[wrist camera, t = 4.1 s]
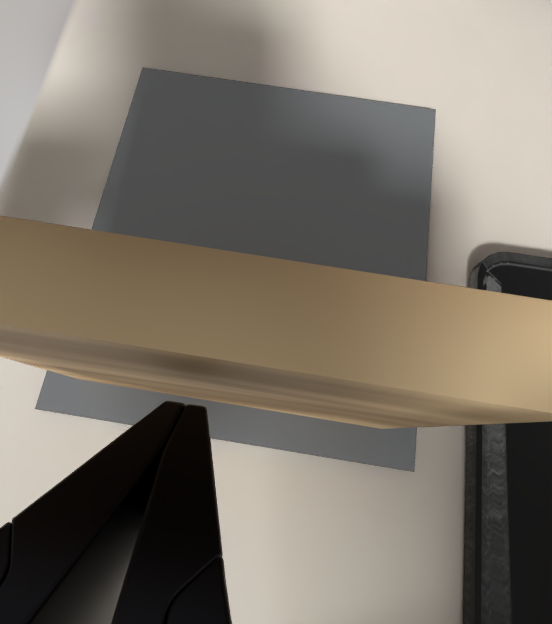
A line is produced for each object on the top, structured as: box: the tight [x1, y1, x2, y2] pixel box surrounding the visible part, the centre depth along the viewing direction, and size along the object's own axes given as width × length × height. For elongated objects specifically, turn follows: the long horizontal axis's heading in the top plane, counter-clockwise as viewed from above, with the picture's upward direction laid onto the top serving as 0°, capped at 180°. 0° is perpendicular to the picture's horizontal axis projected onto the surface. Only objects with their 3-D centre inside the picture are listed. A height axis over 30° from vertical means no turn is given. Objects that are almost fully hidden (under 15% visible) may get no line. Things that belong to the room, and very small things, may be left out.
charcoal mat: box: [35, 68, 436, 472], centre depth 17 cm, size 16×14×1 cm
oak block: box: [0, 216, 552, 429], centre depth 10 cm, size 2×11×10 cm, turn 81°
